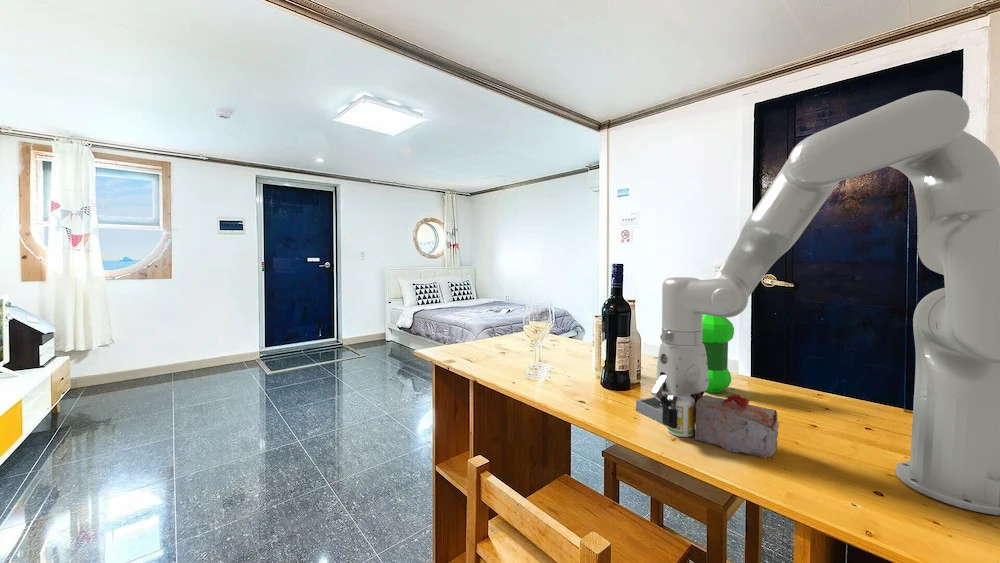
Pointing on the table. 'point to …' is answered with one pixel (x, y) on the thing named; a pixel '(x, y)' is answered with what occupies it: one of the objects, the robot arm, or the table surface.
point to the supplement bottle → (684, 417)
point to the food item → (736, 425)
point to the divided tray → (650, 408)
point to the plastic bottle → (717, 351)
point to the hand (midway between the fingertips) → (680, 422)
